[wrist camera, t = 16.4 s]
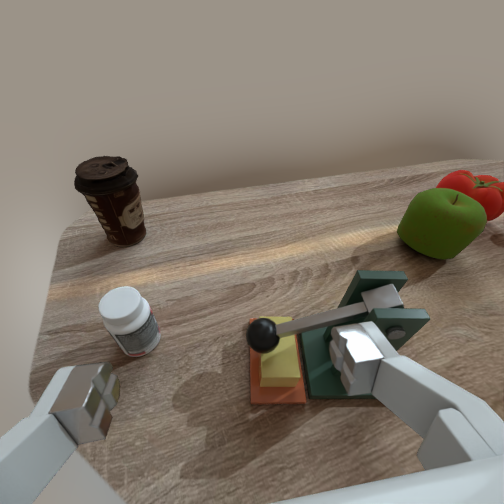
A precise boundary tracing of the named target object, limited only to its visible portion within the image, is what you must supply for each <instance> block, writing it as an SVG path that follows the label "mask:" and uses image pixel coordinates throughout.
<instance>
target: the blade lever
mask: <svg viewBox="0 0 504 504" xmlns="http://www.w3.org/2000/svg"><path fill="white" fill-rule="evenodd" d="M361 295H362V297H363V300H364V301H363V302H359V303H356V304H352V305H348V306H344V307H341V308H337V309H333V310H329V311H326V312H322V313H318V314H314V315H311V316H307V317H303V318H299V319H296V320H292V321H288V322H284V323H281V324H276V323H275V322H274V321H272V320H271V319H268V318H258V319H256V320H254V321H253V322H252V323H251V324H250V325H249V327H248V329H247V332H246V338H247V342H248V344H249V346H250V347H251V348H252V349H253V350H254V351H255V352H258V353H262V354H266V353H270V352H272V351H273V350H274V349H275V348H276V347H277V346H278V344H279V342H280V338H283V337H287V336H291V335H295V334H299V333H303V332H307V331H311V330H315V329H319V328H324V327H328V326H332V325H336V324H340V323H344V322H348V321H352V320H356V319H360V318H364V317H367V316H368V314H369V313H370V312H371V310H372V309H373V308H402V309H404V305H403V302H402V300H401V298H400V296H399V295H398V293H397V291H396V289H395V287H394V285H393V284H389V285H386V286H382V287H378V288H375V289H371V290H368V291H364V292H361Z"/></svg>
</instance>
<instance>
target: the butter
mask: <svg viewBox="0 0 504 504" xmlns="http://www.w3.org/2000/svg"><path fill="white" fill-rule="evenodd" d="M259 318H268V319H271V320H272V321H274V322H275V323H276V324H281V323H284V322H288V321H292V320H294V319H292V317H259ZM256 319H258V318H250V321H249V325H250V324H251V323H252V322H253V321H254V320H256ZM306 402H307V401H306V395H305V388H304V381H303V375H302V368H301V362H300V355H299V348H298V342H297V335H296V334H295V335H291V336H287V337H283V338H280V342H279V344H278V346H277V347H276V348H275V349H274V350H273V351H272V352H270V353H266V354H262V353H258V352H255V351H254V350H253V349H252V348H251V347H250V404H306Z"/></svg>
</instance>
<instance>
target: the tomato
mask: <svg viewBox="0 0 504 504" xmlns="http://www.w3.org/2000/svg"><path fill="white" fill-rule="evenodd" d="M436 188H447V189H453V190H455V191H458V192H461V193H463V194H465V195H467V196H469V197H471V198H472V199H474V200H476V201H477V202H479V203H480V204H481V205H482V206H483V207H484V210H485V212H486V215H487V221H490V220H493V219H495V218H497V217H499V216H500V215H501V214H502V213H503V212H504V182H500V183H499V180H498V179H497V178H494V177H492V176H488V175H479V176H473V175H472V173H471V172H469V171H465V170H458V171H455V172H453V173H450V174H448V175H447V176H446V177H444V178H443V179H442V180H441V181H440V182H439V184H438V185H437V187H436Z"/></svg>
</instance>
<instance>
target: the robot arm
mask: <svg viewBox="0 0 504 504" xmlns="http://www.w3.org/2000/svg"><path fill="white" fill-rule="evenodd" d="M331 336H332V338H333V340H332V341H331V342H330V345H329V351H330V357H331V360H332V363H333V365H334V367H335V368H336V369H337V370H339V371H340V372H341V377H340V379H341V382H342V384H343V386H344V388H345V390H346V392H347V394H348V396H353V395H360V394H367V393H372V395H373V396H374V397H375V398H377V399H378V400H379V401H380V402H381V403H382V404H384V405H385V406H386V407H387V408H388V409H390V410H391V411H392V412H393V413H394V414H395V415H397V416H398V417H399V418H400V419H401V420H402V421H404V422H405V423H406V424H407V425H408V426H409V427H411V428H412V429H413V430H414V431H415V432H416V433H418V434H419V435H420V436H421V437H422V438H423V439H424V440H423V442H422V443H421V445H420V447H419V449H418V452H417V457H418V459H419V461H420V462H421V464H422V466H423V467H424V469H425V471H421V472H417V473H412V474H407V475H402V476H398V477H393V478H388V479H383V480H378V481H374V482H369V483H364V484H359V485H355V486H350V487H345V488H340V489H336V490H331V491H326V492H321V493H317V494H312V495H307V496H302V497H297V498H293V499H288V500H283V501H278V502H274V503H269V504H504V421H503V420H502V419H501V418H500V417H499V416H498V415H497V414H496V413H495V412H494V411H493V410H492V409H491V408H490V407H489V406H488V404H487V403H486V402H485V401H484V400H482V399H480V398H478V397H476V396H475V395H473V394H471V393H469V392H468V391H466V390H464V389H462V388H461V387H459V386H457V385H455V384H453V383H452V382H450V381H448V380H446V379H445V378H443V377H441V376H439V375H438V374H436V373H434V372H432V371H430V370H429V369H427V368H425V367H423V366H422V365H420V364H418V363H416V362H414V361H413V360H411V359H409V358H407V357H406V356H400V355H399V354H398V353H397V352H396V350H395V349H394V348H393V346H392V345H391V344H390V343H389V341H388V340H387V339H386V337H385V336H384V335H383V334H382V332H381V331H380V330H379V328H378V327H377V326H376V325H375V323H373V322H372V321H370V322H363V323H356V324H349V325H343V326H337V327H333V328H332V330H331ZM112 369H113V367H112V365H111V363H110V362H100V363H92V364H84V365H77V366H69V367H62V368H60V369H59V370H58V371H57V372H56V373H55V375H54V376H53V378H52V380H51V381H50V383H49V385H48V386H47V388H46V389H45V391H44V393H43V394H42V396H41V398H40V399H39V401H38V403H37V404H36V406H35V408H34V409H33V411H32V412H31V414H30V416H29V417H28V418H23V419H22V420H21V421H20V422H18V423H17V424H16V425H15V426H14V427H13V428H11V429H10V430H9V431H8V432H7V433H5V434H4V435H3V436H2V437H1V438H0V504H32V503H33V502H34V501H35V499H36V498H37V497H38V496H39V494H40V493H41V492H42V491H43V489H44V488H45V487H46V486H47V485H48V483H49V482H50V481H51V479H52V478H53V477H54V476H55V475H56V473H57V472H58V471H59V469H60V468H61V467H62V466H63V465H64V463H65V462H66V461H67V460H68V458H69V457H70V456H71V454H72V453H73V452H74V451H75V450H76V448H77V447H78V445H79V444H84V443H89V442H94V441H98V440H103V439H106V436H107V433H108V430H109V427H110V424H111V421H112V418H113V417H112V415H111V413H110V411H111V410H112V409H113V408H114V407H115V406H116V405H117V402H118V399H119V396H120V381H119V379H118V377H117V375H115V374H113V373H111V372H112Z"/></svg>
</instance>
